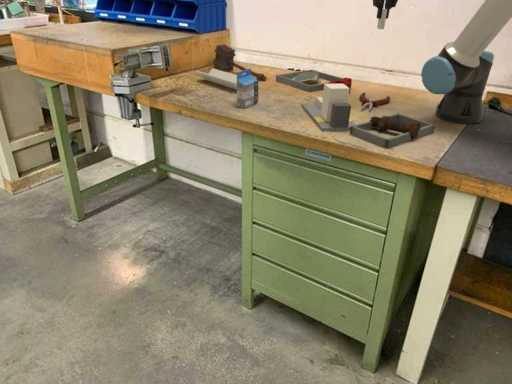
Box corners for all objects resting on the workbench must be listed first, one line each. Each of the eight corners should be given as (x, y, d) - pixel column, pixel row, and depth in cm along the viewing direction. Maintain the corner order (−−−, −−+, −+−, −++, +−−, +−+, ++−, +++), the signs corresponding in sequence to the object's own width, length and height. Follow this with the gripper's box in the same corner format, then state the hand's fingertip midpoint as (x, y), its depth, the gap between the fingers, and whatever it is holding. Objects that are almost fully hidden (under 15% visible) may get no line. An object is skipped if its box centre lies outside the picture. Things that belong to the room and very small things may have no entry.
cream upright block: (320, 115, 140) (324, 83, 135) (338, 115, 141) (343, 83, 136) (326, 121, 135) (329, 88, 130) (344, 121, 136) (349, 88, 131)
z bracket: (212, 88, 188) (220, 76, 188) (250, 100, 172) (258, 88, 173) (196, 71, 178) (204, 59, 179) (235, 83, 163) (243, 70, 163)
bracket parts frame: (346, 85, 182) (347, 79, 181) (310, 92, 170) (310, 86, 169) (311, 74, 197) (311, 69, 196) (275, 80, 185) (275, 75, 184)
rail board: (301, 106, 153) (303, 84, 149) (332, 105, 155) (335, 84, 151) (321, 131, 131) (324, 106, 127) (358, 130, 132) (362, 105, 129)
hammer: (222, 64, 205) (225, 43, 199) (268, 91, 189) (273, 69, 183) (212, 65, 201) (214, 45, 195) (258, 93, 184) (262, 72, 178)
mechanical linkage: (343, 98, 164) (344, 86, 162) (326, 95, 167) (327, 83, 165) (355, 90, 176) (357, 78, 174) (339, 87, 179) (341, 75, 177)
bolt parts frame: (433, 132, 133) (435, 124, 132) (386, 148, 120) (388, 140, 118) (396, 120, 142) (397, 113, 141) (349, 133, 129) (350, 126, 128)
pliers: (348, 111, 151) (349, 104, 150) (361, 97, 167) (362, 91, 166) (380, 116, 147) (382, 109, 146) (390, 102, 163) (391, 95, 162)
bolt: (370, 131, 136) (415, 141, 128) (365, 127, 132) (411, 137, 124) (376, 114, 136) (422, 123, 127) (371, 109, 132) (418, 119, 123)
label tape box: (245, 108, 148) (246, 74, 142) (235, 106, 150) (236, 72, 144) (258, 103, 155) (259, 69, 149) (249, 101, 157) (250, 67, 151)
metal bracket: (320, 67, 187) (316, 74, 174) (322, 80, 189) (319, 88, 176) (289, 73, 191) (283, 81, 179) (292, 86, 194) (286, 94, 181)
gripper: (406, -47, 142) (393, 27, 153) (369, -48, 140) (359, 27, 151) (416, -47, 135) (402, 30, 146) (378, -49, 133) (366, 29, 145)
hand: (380, 28), depth 149 cm, fingers closed
